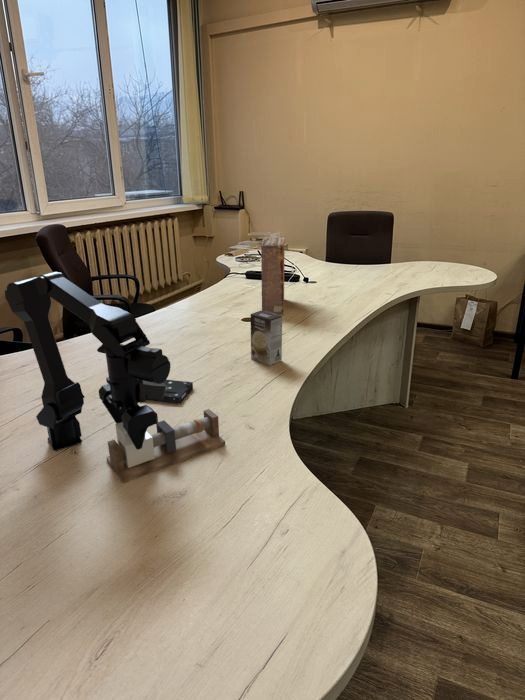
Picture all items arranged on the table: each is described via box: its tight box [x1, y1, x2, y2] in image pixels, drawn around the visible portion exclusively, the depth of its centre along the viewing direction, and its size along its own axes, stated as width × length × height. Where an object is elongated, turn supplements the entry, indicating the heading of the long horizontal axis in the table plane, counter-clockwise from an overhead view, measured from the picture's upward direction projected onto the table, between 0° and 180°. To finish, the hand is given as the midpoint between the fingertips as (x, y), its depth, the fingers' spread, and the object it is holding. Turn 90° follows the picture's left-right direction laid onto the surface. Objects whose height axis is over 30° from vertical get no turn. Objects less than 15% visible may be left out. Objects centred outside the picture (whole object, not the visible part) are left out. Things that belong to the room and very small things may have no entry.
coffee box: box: [250, 309, 283, 366], centre depth 161 cm, size 9×6×16 cm
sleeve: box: [115, 422, 155, 468], centre depth 107 cm, size 6×5×8 cm
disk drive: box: [145, 379, 194, 405], centre depth 141 cm, size 10×3×15 cm
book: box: [260, 235, 286, 316], centre depth 218 cm, size 25×9×30 cm, turn 176°
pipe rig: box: [106, 408, 226, 484], centre depth 111 cm, size 25×10×6 cm, turn 125°
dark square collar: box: [155, 420, 176, 454], centre depth 111 cm, size 2×5×5 cm, turn 35°
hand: (131, 439), depth 106 cm, fingers open, 9 cm apart
